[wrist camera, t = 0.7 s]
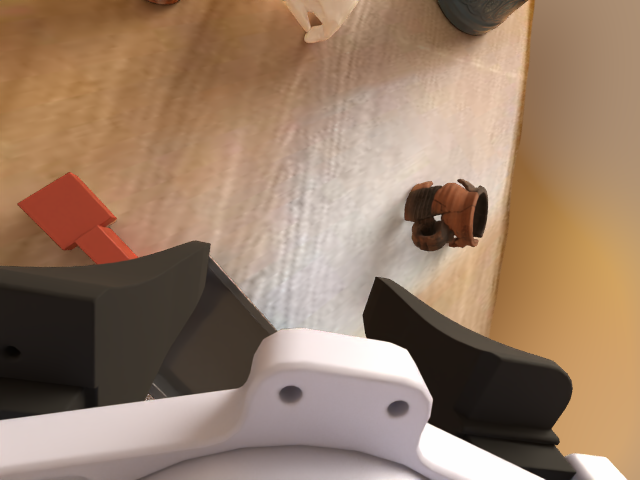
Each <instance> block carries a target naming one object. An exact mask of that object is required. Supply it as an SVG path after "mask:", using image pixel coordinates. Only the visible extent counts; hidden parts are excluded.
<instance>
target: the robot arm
mask: <svg viewBox="0 0 640 480" xmlns="http://www.w3.org/2000/svg"><path fill="white" fill-rule="evenodd" d="M210 245H211V244H210V243H205V242H200V241H191V242H188V243H185V244H182V245H179V246H176V247H173V248H170V249H167V250H164V251H161V252H157V253H154V254H150V255H147V256H143V257H140V258H135V259H131V260H125V261H120V262H114V263H106V264H97V265H88V266H73V267H19V266H0V480H627V479H626V478H625V477H624V476H623V475H622V474H621V473H620V472H619V471H618V470H617V469H616V468H615V466H614V465H613V464H612V463H611V462H610V461H609V460H608V459H607V458H606V457H601V456H593V455H584V454H577V453H576V454H569V455H567V456H565V457H564V456H563V455H562V454H561V453H560V451H559V450H558V449H557V448H556V446H555V445H558V444H559V442H560V441H559V438H558V437H557V436H556V434H555V433H554V432H553V431H552V430H551V429H552V427H553V426H554V424H555V423H556V421H557V420H558V418H559V417H560V416H561V414H562V413H563V411H564V410H565V408H566V407H567V405H568V403H569V401H570V399H571V395H572V389H573V388H572V381H571V379H570V377H569V376H568V374H567V373H566V372H565V371H564V370H563V369H562V368H561V367H560V366H558V365H557V364H556V363H555V362H554V361H552V360H549V359H546V358H543V357H540V356H537V355H533V354H530V353H527V352H524V351H521V350H518V349H515V348H512V347H509V346H506V345H504V344H501V343H499V342H496V341H494V340H491V339H489V338H487V337H484V336H482V335H480V334H478V333H476V332H473V331H471V330H469V329H467V328H465V327H463V326H461V325H459V324H458V323H456V322H454V321H452V320H450V319H449V318H447V317H445V316H444V315H442V314H440V313H439V312H437V311H436V310H434V309H433V308H431V307H430V306H428V305H427V304H425V303H424V302H422V301H421V300H419V299H418V298H417V297H415V296H414V295H413V294H411V293H410V292H408V291H407V290H406V289H404V288H403V287H401V286H400V285H398V284H397V283H395V282H394V281H392V280H390V279H386V278H381V277H375V280H374V283H373V286H372V289H371V292H370V295H369V298H368V301H367V303H366V306H365V309H364V312H363V322H364V329H365V334H366V338H361V337H355V336H349V335H343V334H337V333H331V332H325V331H319V330H313V329H307V328H294V329H281V330H279V331H277V332H276V333H274V334H272V335H270V336H268V337H266V338H265V339H263V341H262V342H261V344H260V346H259V347H258V349H257V351H256V352H255V354H254V357H253V362H252V366H251V371H250V375H249V377H248V380H247V382H246V383H245V384H244V385H243V386H242V387H240V388H237V389H230V390H222V391H215V392H207V393H200V394H193V395H185V396H178V397H170V398H163V399H155V400H148V401H145V399H146V397H147V394H148V392H149V390H150V388H151V386H152V384H153V381H154V379H155V377H156V375H157V373H158V371H159V369H160V367H161V365H162V363H163V360H164V358H165V356H166V355H167V353H168V351H169V349H170V347H171V346H172V344H173V343H174V341H175V339H176V338H177V336H178V335H179V333H180V332H181V330H182V328H183V327H184V325H185V324H186V322H187V320H188V319H189V317H190V316H191V314H192V312H193V311H194V309H195V308H196V306H197V304H198V302H199V299H200V297H201V295H202V292H203V290H204V288H205V282H206V274H207V267H208V260H209V252H210Z"/></svg>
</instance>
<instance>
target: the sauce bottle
mask: <svg viewBox="0 0 640 480" xmlns="http://www.w3.org/2000/svg"><path fill="white" fill-rule="evenodd" d="M147 1H149V2H152V3H156V4H174V3H176V2H178V1H180V0H147Z"/></svg>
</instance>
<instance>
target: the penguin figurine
mask: <svg viewBox="0 0 640 480" xmlns="http://www.w3.org/2000/svg"><path fill="white" fill-rule="evenodd" d="M283 1H284V2H285V3H286V5H287V7H288V8H289V10H290V11H291V13H292V14H293V16H294V17H295V18H296V20H297V21H298V23H299V24H300V25H301V27H302V28H303V29H304V30H305V31H306V32H307V33H306V35H305V37H304V40H305V42H307V43H315V42H318V41H325V40H327V39H328V38H330V37H331V36H332V35H333V34H334V33H335V32H336V31H337V30H339V28H340V26H341V24H342V23H343V22H344V21H345V20H346V19H347V18H348V17H349V15H350V13H351V11H352V10H353V9H354V7H355V6H356V5H357V3H358V1H359V0H283ZM307 12H310V13H312V12H313V13H314V14H315V16H316V17H318V18H319V20H320V21H321V22H322V24H323V25H320V26H313V27H312V28H311V25H310V22H309V18H308V14H307Z"/></svg>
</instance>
